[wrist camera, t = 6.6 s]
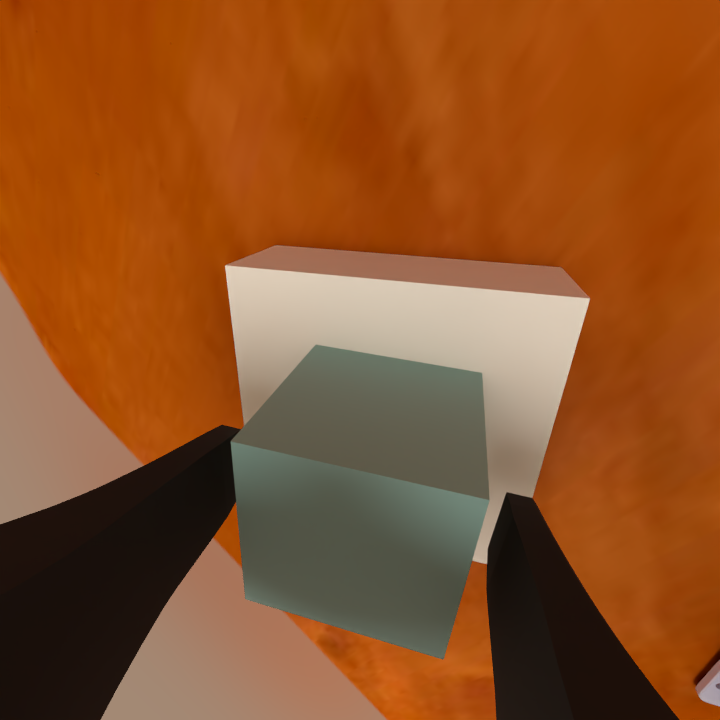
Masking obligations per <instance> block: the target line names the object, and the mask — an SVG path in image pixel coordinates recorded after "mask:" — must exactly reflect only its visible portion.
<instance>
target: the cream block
mask: <svg viewBox="0 0 720 720" xmlns="http://www.w3.org/2000/svg"><path fill="white" fill-rule="evenodd" d="M225 269H226V277H227V286H228V294H229V303H230V311H231V319H232V328H233V336H234V344H235V353H236V361H237V369H238V378H239V386H240V394H241V403H242V411H243V419H244V426H245V424H246V423H247V422H248V421H249V420H250V419H251V418H252V416H253V415H254V414H255V413H256V412H257V411H258V410H259V408H260V407H261V406H262V405H263V404H264V403H265V402H266V401H267V399H268V398H269V397H270V396H271V395H272V394H273V393H274V391H275V390H276V389H277V388H278V387H279V386H280V385H281V383H282V382H283V381H284V380H285V379H286V378H287V377H288V375H289V374H290V373H291V372H292V371H293V370H294V369H295V367H296V366H297V365H298V364H299V363H300V362H301V361H302V359H303V358H304V357H305V356H306V355H307V354H308V353H309V351H310V350H311V349H312V348H313V347H314V346H315V345H322V346H328V347H333V348H339V349H345V350H351V351H357V352H363V353H369V354H375V355H380V356H386V357H392V358H398V359H404V360H410V361H416V362H422V363H427V364H433V365H439V366H445V367H451V368H457V369H463V370H469V371H474V372H480V373H482V379H483V396H484V413H485V430H486V447H487V464H488V481H489V498H490V501H489V504H488V508H487V511H486V514H485V518H484V521H483V525H482V528H481V532H480V535H479V539H478V542H477V545H476V549H475V552H474V556H473V559H472V561H476V562H480V563H484V564H487V552H488V546H489V543H490V540H491V537H492V534H493V531H494V528H495V525H496V522H497V519H498V516H499V513H500V510H501V507H502V504H503V501H504V498H505V495H506V492H509V493H513V494H517V495H521V496H526V497H530V498H532V497H533V494H534V490H535V487H536V483H537V480H538V477H539V473H540V470H541V466H542V463H543V459H544V456H545V452H546V449H547V445H548V442H549V439H550V435H551V432H552V428H553V425H554V421H555V418H556V414H557V411H558V408H559V404H560V401H561V397H562V394H563V390H564V387H565V383H566V380H567V376H568V373H569V370H570V366H571V363H572V359H573V356H574V352H575V349H576V345H577V342H578V339H579V335H580V332H581V328H582V325H583V321H584V318H585V314H586V311H587V307H588V304H589V301H590V298H589V297H588V296H587V295H586V294H585V292H584V291H583V290H582V289H581V288H580V287H579V286H578V285H577V284H576V283H575V282H574V280H573V279H572V278H571V277H570V276H569V275H568V274H567V273H566V272H565V271H564V269H563V268H562V267H551V266H538V265H525V264H512V263H499V262H486V261H473V260H461V259H448V258H435V257H422V256H409V255H396V254H383V253H370V252H357V251H345V250H332V249H319V248H306V247H293V246H280V245H275V246H273V247H270V248H268V249H265V250H263V251H260V252H258V253H255V254H253V255H250V256H247V257H245V258H242V259H240V260H237V261H235V262H232V263H230V264H227V265H225Z"/></svg>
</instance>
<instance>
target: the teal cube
mask: <svg viewBox="0 0 720 720" xmlns="http://www.w3.org/2000/svg"><path fill="white" fill-rule="evenodd" d="M231 451H232V462H233V472H234V483H235V494H236V505H237V515H238V526H239V537H240V547H241V558H242V569H243V579H244V590H245V599H247V600H250V601H253V602H257V603H260V604H263V605H266V606H270V607H273V608H277V609H279V610H283V611H286V612H289V613H293V614H296V615H299V616H302V617H306V618H309V619H312V620H316V621H319V622H322V623H325V624H329V625H332V626H335V627H339V628H342V629H345V630H348V631H352V632H355V633H358V634H361V635H365V636H368V637H371V638H375V639H378V640H381V641H384V642H388V643H391V644H394V645H398V646H401V647H404V648H407V649H411V650H414V651H417V652H420V653H424V654H427V655H430V656H434V657H437V658H440V659H444V656H445V652H446V649H447V645H448V642H449V638H450V635H451V632H452V628H453V625H454V621H455V618H456V614H457V611H458V607H459V604H460V601H461V597H462V594H463V590H464V587H465V583H466V580H467V576H468V573H469V570H470V566H471V563H472V559H473V556H474V552H475V549H476V545H477V542H478V539H479V535H480V532H481V528H482V525H483V521H484V518H485V514H486V511H487V508H488V504H489V501H490V498H489V481H488V464H487V447H486V430H485V413H484V396H483V379H482V373H480V372H474V371H469V370H463V369H457V368H451V367H445V366H439V365H433V364H427V363H422V362H416V361H410V360H404V359H398V358H392V357H386V356H380V355H375V354H369V353H363V352H357V351H351V350H345V349H339V348H333V347H328V346H322V345H315V346H314V347H313V348H312V349H311V350H310V351H309V353H308V354H307V355H306V356H305V357H304V358H303V359H302V361H301V362H300V363H299V364H298V365H297V366H296V367H295V369H294V370H293V371H292V372H291V373H290V374H289V375H288V377H287V378H286V379H285V380H284V381H283V382H282V383H281V385H280V386H279V387H278V388H277V389H276V390H275V391H274V393H273V394H272V395H271V396H270V397H269V398H268V399H267V401H266V402H265V403H264V404H263V405H262V406H261V407H260V408H259V410H258V411H257V412H256V413H255V414H254V415H253V416H252V418H251V419H250V420H249V421H248V422H247V423H246V424H245V426H244V427H243V428H242V429H241V430H240V431H239V432H238V434H237V435H236V436H235V437H234V438H233V439H232V440H231Z"/></svg>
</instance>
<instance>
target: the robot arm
mask: <svg viewBox="0 0 720 720" xmlns="http://www.w3.org/2000/svg"><path fill="white" fill-rule="evenodd" d="M240 430H241V429H237V428H233V427H229V426H224V425H221V426H219V427H217V428H215V429H213V430H211V431H209V432H207V433H205V434H203V435H201V436H199V437H197V438H196V439H194V440H192V441H190V442H188V443H186V444H185V445H183V446H181V447H179V448H177V449H175V450H173V451H171V452H170V453H168V454H166V455H164V456H162V457H160V458H158V459H156V460H154V461H152V462H151V463H149V464H147V465H145V466H142V467H140V468H138V469H137V470H134V471H132V472H130V473H128V474H126V475H124V476H122V477H120V478H118V479H116V480H114V481H111V482H109V483H107V484H105V485H103V486H101V487H99V488H96V489H94V490H92V491H89V492H87V493H85V494H82V495H80V496H77V497H75V498H72V499H70V500H67V501H65V502H62V503H60V504H57V505H55V506H52V507H50V508H47V509H44V510H41V511H38V512H35V513H32V514H29V515H27V516H24V517H21V518H18V519H15V520H12V521H9V522H6V523H3V524H0V720H100V719H101V718H102V716H103V714H104V712H105V710H106V708H107V706H108V704H109V702H110V701H111V699H112V697H113V695H114V693H115V691H116V689H117V688H118V686H119V684H120V682H121V680H122V679H123V677H124V675H125V673H126V672H127V670H128V668H129V666H130V665H131V663H132V661H133V659H134V657H135V656H136V654H137V652H138V650H139V648H140V647H141V645H142V643H143V641H144V640H145V638H146V636H147V635H148V633H149V631H150V630H151V628H152V626H153V625H154V623H155V621H156V620H157V618H158V616H159V614H160V612H161V611H162V609H163V608H164V606H165V605H166V603H167V602H168V600H169V599H170V597H171V596H172V594H173V593H174V591H175V590H176V588H177V587H178V585H179V584H180V583H181V581H182V580H183V578H184V577H185V576H186V574H187V573H188V572H189V570H190V569H191V567H192V566H193V565H194V563H195V562H196V560H197V559H198V558H199V556H200V555H201V553H202V552H203V551H204V549H205V548H206V546H207V545H208V544H209V542H210V541H211V539H212V538H213V537H214V535H215V534H216V532H217V531H218V530H219V528H220V527H221V525H222V524H223V522H224V521H225V520H226V518H227V517H228V515H229V513H230V511H231V509H232V508H233V506H234V504H235V502H236V494H235V483H234V472H233V462H232V451H231V440H232V439H233V438H234V437H235V436H236V435H237V434H238V432H239V431H240ZM487 603H488V615H489V627H490V639H491V650H492V662H493V674H494V685H495V699H496V719H497V720H679V719H678V717H677V716H676V715H675V714H674V713H673V711H672V710H671V709H670V708H669V706H668V705H667V704H666V703H665V701H664V700H663V699H662V698H661V696H660V695H659V694H658V692H657V691H656V690H655V689H654V687H653V686H652V685H651V683H650V682H649V681H648V679H647V678H646V677H645V675H644V674H643V673H642V671H641V670H640V669H639V667H638V666H637V665H636V663H635V662H634V661H633V659H632V658H631V657H630V655H629V654H628V653H627V651H626V650H625V648H624V647H623V646H622V644H621V643H620V641H619V640H618V638H617V637H616V636H615V634H614V633H613V631H612V630H611V628H610V627H609V625H608V624H607V622H606V621H605V619H604V618H603V616H602V615H601V613H600V612H599V610H598V609H597V607H596V606H595V604H594V603H593V601H592V600H591V598H590V596H589V595H588V593H587V592H586V590H585V589H584V587H583V585H582V584H581V582H580V580H579V579H578V577H577V575H576V574H575V572H574V571H573V569H572V567H571V566H570V564H569V562H568V561H567V559H566V557H565V555H564V554H563V552H562V550H561V549H560V547H559V545H558V543H557V541H556V540H555V538H554V536H553V534H552V532H551V531H550V529H549V527H548V525H547V523H546V521H545V520H544V518H543V516H542V514H541V512H540V510H539V508H538V506H537V505H536V503H535V501H534V500H533V498H530V497H526V496H521V495H517V494H513V493H509V492H506V495H505V498H504V501H503V504H502V507H501V510H500V513H499V516H498V519H497V522H496V525H495V528H494V531H493V534H492V537H491V540H490V543H489V546H488V552H487ZM696 691H697V693H698V696H699V698H700V699H701V700H703V701H704V702H707V703H710V704H713V705H717V706H720V660H719V661H718V662H717V663H716V664H715V665H714V666H713V667H712V669H711V670H710V671H709V672H708V673H707V674H706V675H705V676H704V678H703V679H702V680H701V681H700V682H699V683H698V684H697V686H696Z"/></svg>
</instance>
